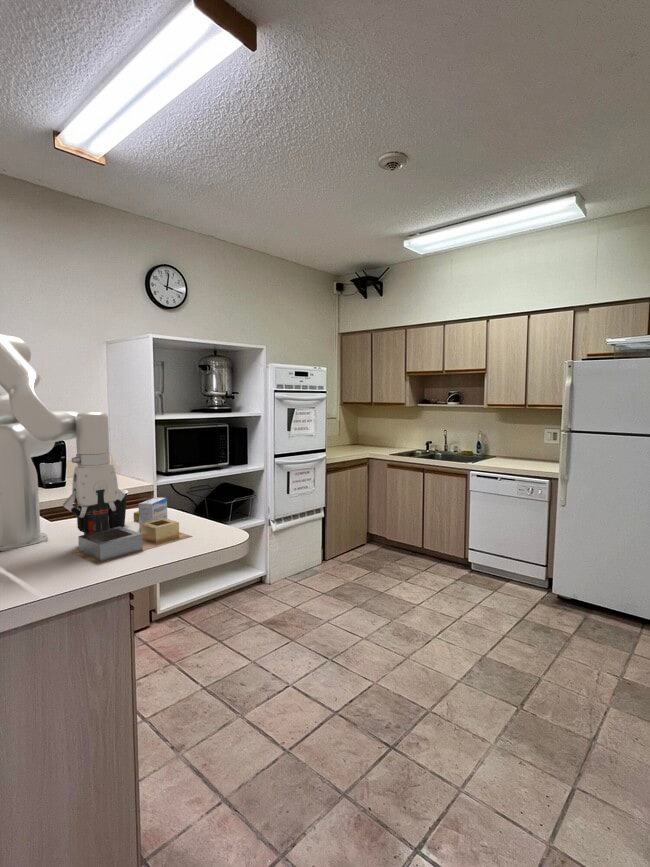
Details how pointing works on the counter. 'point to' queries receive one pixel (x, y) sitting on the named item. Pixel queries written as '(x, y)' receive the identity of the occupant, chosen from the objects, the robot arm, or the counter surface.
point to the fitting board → (146, 546)
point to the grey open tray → (110, 543)
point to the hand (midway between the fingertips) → (96, 527)
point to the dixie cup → (120, 512)
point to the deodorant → (97, 515)
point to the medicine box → (152, 510)
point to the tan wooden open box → (160, 530)
